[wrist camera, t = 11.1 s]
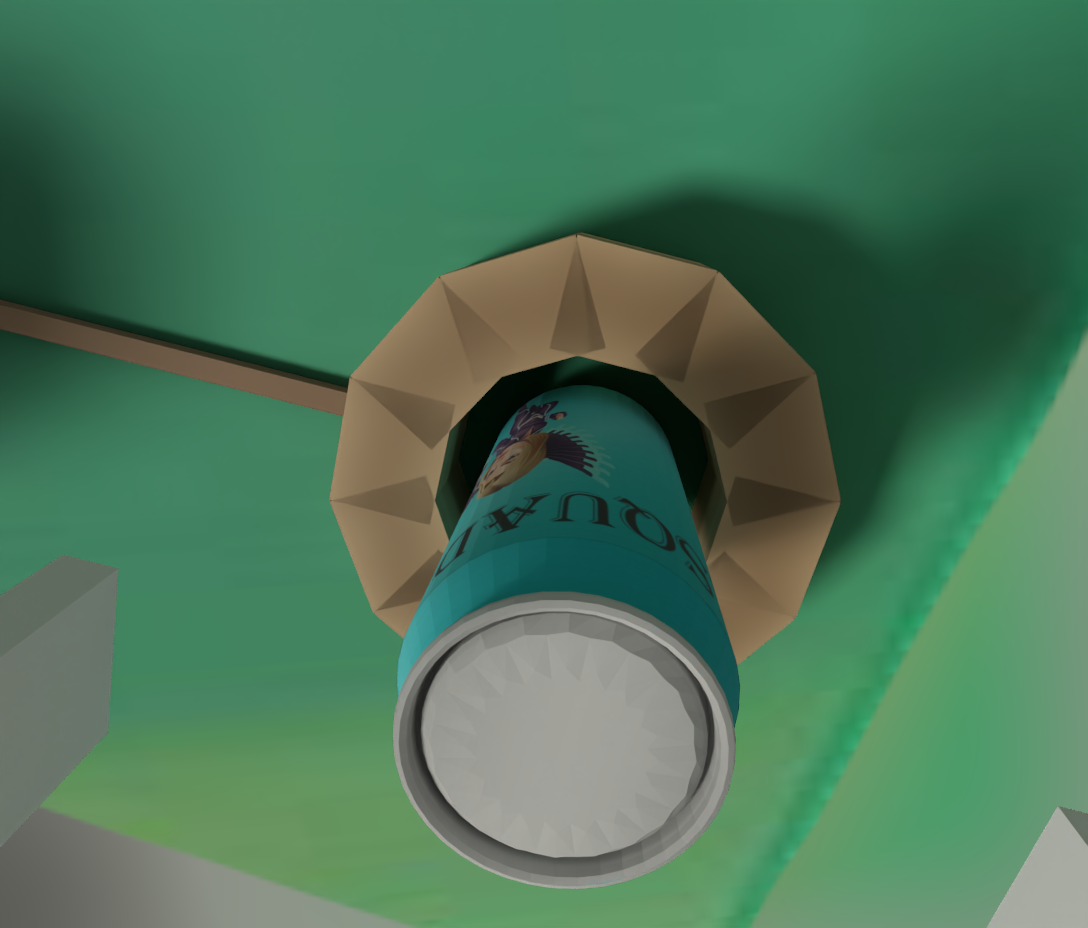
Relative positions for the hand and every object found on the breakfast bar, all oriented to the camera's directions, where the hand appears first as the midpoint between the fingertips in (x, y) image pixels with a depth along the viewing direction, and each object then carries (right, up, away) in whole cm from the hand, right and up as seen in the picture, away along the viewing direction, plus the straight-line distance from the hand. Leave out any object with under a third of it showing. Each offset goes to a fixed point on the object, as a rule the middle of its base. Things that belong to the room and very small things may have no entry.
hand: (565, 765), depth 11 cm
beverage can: (+1, +4, +15) cm, 16 cm away
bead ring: (+1, +4, +15) cm, 16 cm away
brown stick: (-13, +8, +15) cm, 21 cm away
